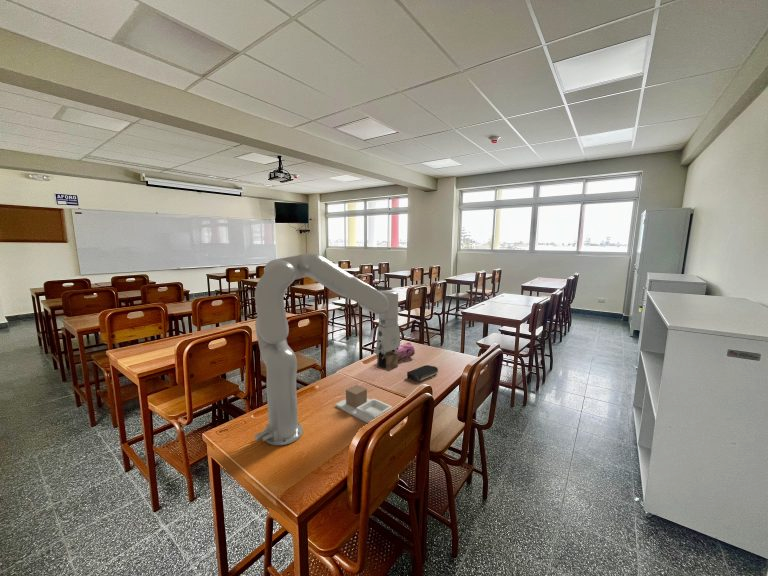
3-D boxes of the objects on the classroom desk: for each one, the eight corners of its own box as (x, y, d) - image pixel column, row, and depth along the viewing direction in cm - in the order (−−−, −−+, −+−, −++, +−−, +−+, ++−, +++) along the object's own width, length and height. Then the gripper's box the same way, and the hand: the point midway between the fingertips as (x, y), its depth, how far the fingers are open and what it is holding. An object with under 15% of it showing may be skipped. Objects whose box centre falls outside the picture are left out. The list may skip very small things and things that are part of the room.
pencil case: (388, 367, 165) (388, 351, 164) (377, 362, 172) (377, 347, 171) (416, 358, 178) (416, 343, 177) (405, 354, 185) (405, 340, 184)
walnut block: (388, 371, 121) (388, 356, 120) (377, 367, 125) (377, 353, 124) (397, 367, 125) (398, 353, 125) (386, 363, 129) (386, 349, 128)
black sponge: (418, 384, 146) (418, 376, 145) (405, 378, 152) (405, 371, 152) (439, 374, 157) (439, 367, 156) (426, 369, 163) (426, 363, 162)
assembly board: (375, 427, 111) (375, 409, 110) (335, 406, 125) (335, 390, 124) (396, 413, 120) (396, 396, 119) (356, 395, 134) (356, 380, 133)
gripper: (381, 327, 113) (380, 373, 116) (408, 319, 127) (407, 361, 129) (366, 323, 118) (366, 368, 121) (394, 316, 131) (393, 357, 134)
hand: (387, 364), depth 125 cm, fingers closed on walnut block, 6 cm apart
